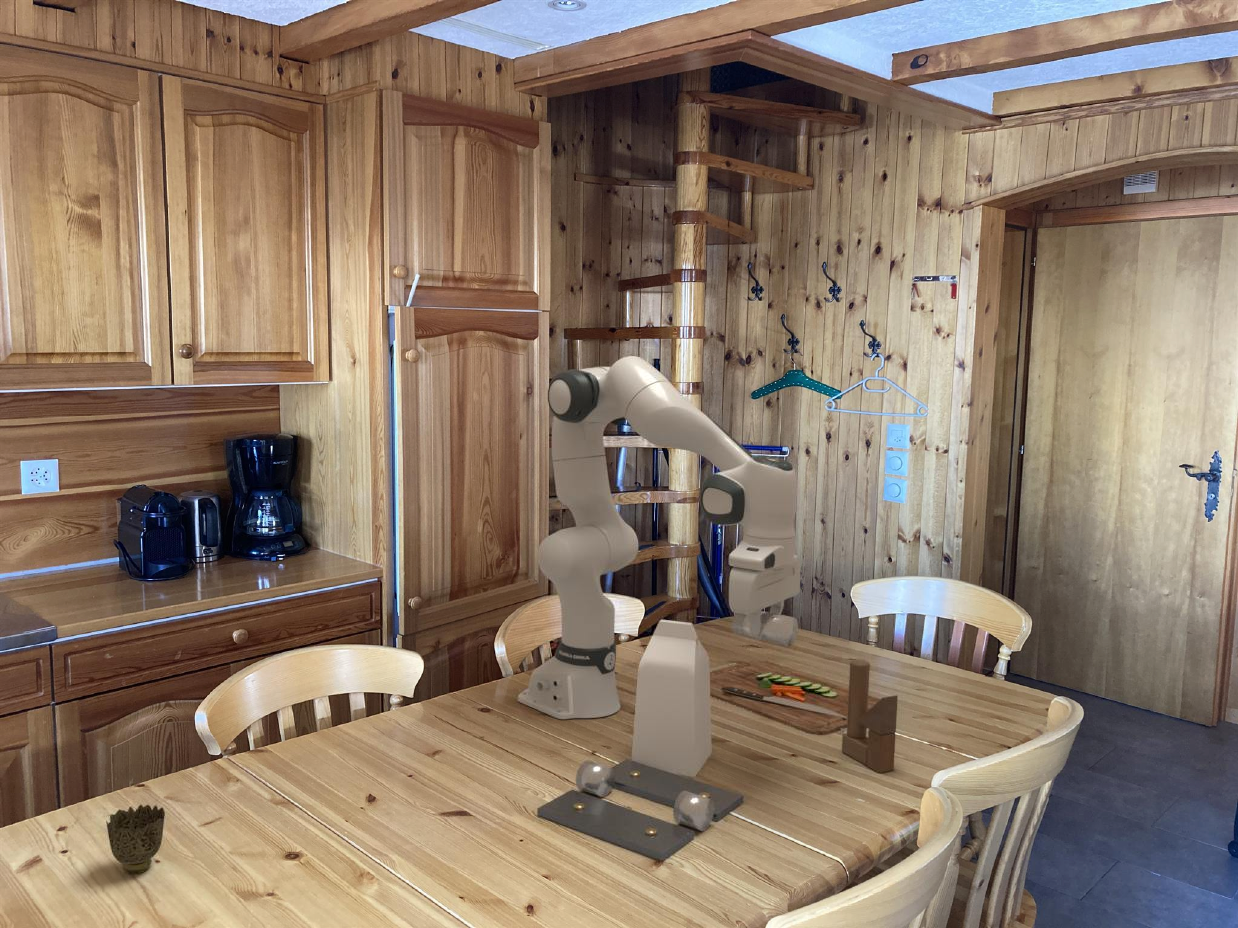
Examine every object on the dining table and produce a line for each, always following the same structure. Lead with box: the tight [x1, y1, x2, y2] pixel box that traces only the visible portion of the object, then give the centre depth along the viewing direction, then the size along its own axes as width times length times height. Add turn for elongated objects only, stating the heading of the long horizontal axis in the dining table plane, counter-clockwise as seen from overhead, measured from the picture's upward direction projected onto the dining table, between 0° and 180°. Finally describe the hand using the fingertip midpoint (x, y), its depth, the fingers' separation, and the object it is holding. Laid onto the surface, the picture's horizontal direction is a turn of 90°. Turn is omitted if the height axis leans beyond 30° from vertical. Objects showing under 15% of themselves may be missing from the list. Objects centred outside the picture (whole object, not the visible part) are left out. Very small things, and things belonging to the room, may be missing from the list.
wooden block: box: [841, 659, 899, 774], centre depth 183 cm, size 4×11×18 cm, turn 26°
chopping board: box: [710, 660, 881, 736], centre depth 219 cm, size 45×27×3 cm, turn 40°
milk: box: [630, 619, 712, 778], centre depth 182 cm, size 12×12×26 cm
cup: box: [105, 804, 166, 874], centre depth 141 cm, size 8×7×8 cm
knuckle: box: [732, 610, 799, 647], centre depth 172 cm, size 10×5×5 cm, turn 54°
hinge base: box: [536, 759, 745, 863], centre depth 163 cm, size 24×25×5 cm
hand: (764, 629), depth 172 cm, fingers closed on knuckle, 5 cm apart
